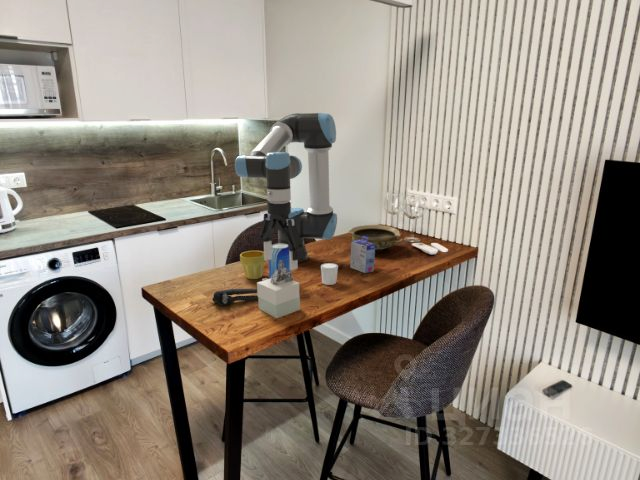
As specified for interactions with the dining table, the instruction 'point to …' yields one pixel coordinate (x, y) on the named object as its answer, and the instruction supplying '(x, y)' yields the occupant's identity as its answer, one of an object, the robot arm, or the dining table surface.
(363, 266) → the ink cartridge box
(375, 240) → the ceramic bowl
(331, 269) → the white gray-rimmed cylinder
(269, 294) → the tower top block
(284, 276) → the house of cards
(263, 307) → the tower bottom block
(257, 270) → the plant pot
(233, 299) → the can opener
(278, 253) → the beer can
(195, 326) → the dining table surface
